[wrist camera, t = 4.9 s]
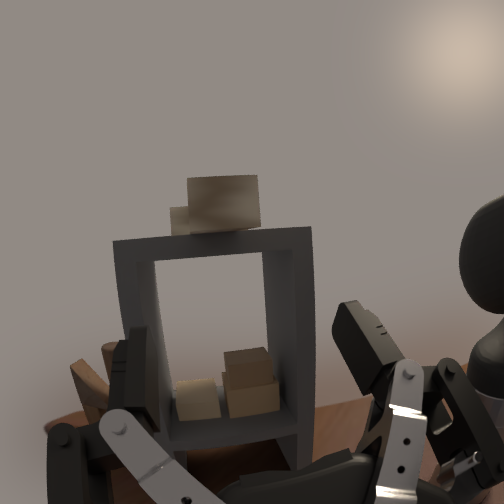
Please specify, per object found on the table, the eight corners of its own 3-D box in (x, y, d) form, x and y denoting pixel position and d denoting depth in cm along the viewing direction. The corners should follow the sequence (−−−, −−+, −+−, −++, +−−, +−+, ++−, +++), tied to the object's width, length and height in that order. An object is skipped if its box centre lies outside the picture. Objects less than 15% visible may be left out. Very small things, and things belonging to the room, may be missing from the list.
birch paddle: (239, 232, 36) (237, 208, 36) (294, 224, 17) (290, 174, 17) (175, 237, 35) (173, 212, 35) (153, 234, 15) (151, 180, 15)
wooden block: (103, 426, 39) (76, 336, 38) (154, 438, 38) (130, 341, 37) (93, 436, 36) (62, 343, 35) (146, 451, 34) (117, 350, 33)
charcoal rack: (284, 430, 40) (275, 229, 38) (310, 476, 29) (311, 226, 27) (173, 444, 37) (137, 240, 35) (173, 497, 25) (112, 241, 23)
